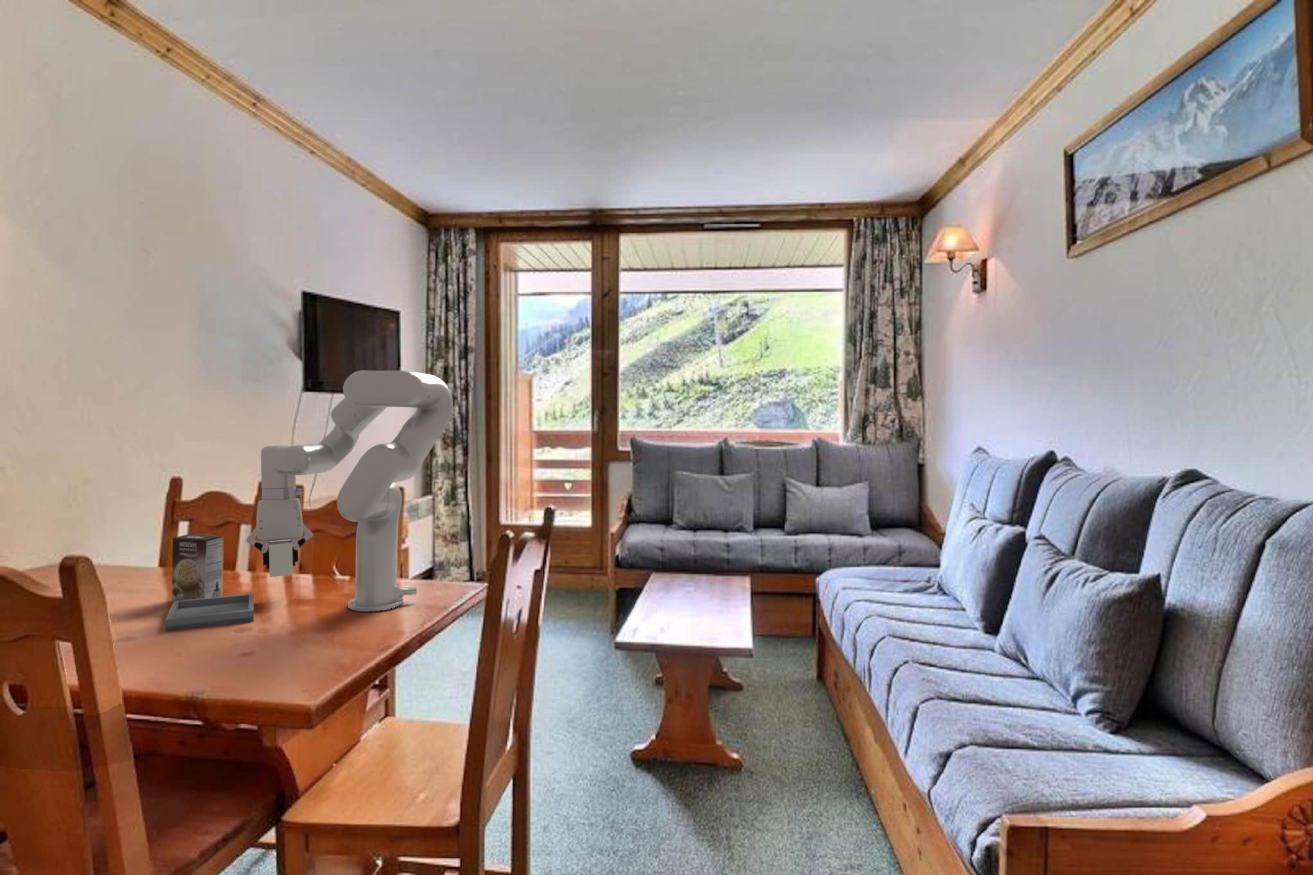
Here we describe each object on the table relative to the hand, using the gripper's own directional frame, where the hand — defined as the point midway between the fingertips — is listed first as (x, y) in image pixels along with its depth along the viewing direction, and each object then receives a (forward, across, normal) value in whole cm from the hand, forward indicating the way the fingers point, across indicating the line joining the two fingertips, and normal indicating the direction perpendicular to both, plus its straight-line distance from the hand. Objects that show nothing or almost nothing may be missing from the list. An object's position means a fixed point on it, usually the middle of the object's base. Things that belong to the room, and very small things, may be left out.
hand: (280, 565), depth 167 cm
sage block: (+2, 0, 0) cm, 2 cm away
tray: (+8, +14, +9) cm, 19 cm away
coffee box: (+8, +18, -8) cm, 21 cm away
